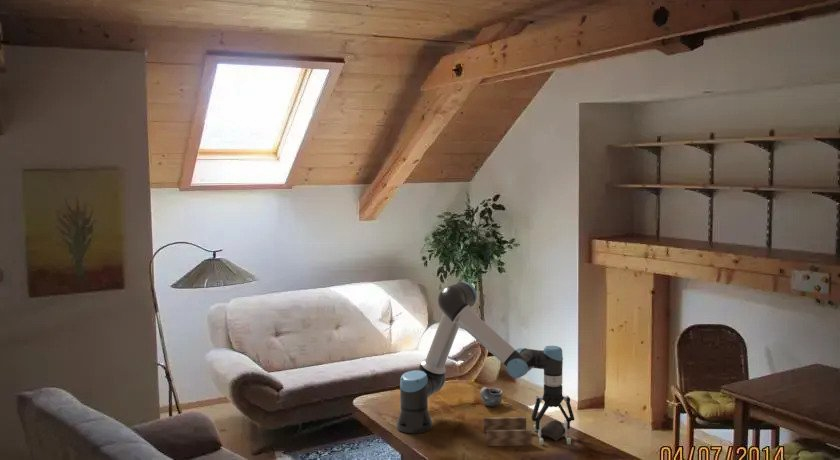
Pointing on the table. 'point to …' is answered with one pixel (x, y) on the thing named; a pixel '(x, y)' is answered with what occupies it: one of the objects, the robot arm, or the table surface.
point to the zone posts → (541, 440)
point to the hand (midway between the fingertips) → (552, 436)
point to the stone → (553, 430)
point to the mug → (491, 396)
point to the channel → (507, 431)
